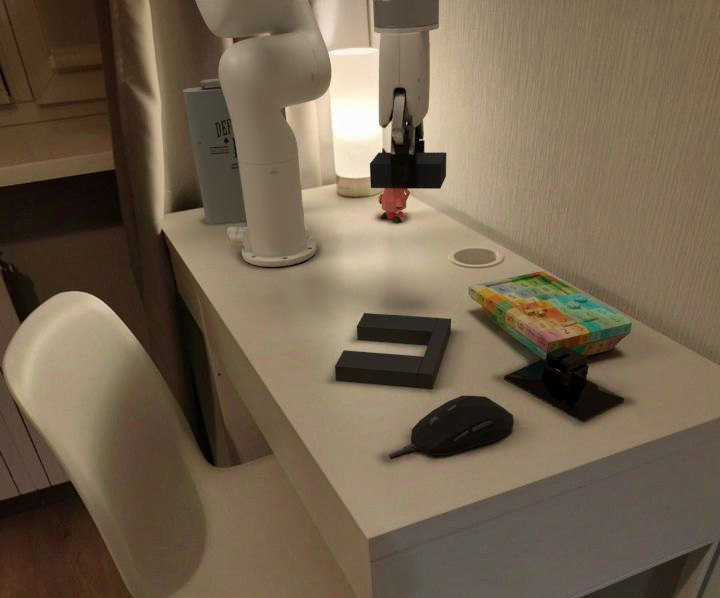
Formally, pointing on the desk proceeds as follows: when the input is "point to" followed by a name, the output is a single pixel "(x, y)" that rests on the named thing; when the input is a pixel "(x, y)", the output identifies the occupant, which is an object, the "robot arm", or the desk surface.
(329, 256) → the desk surface
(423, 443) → the gaming mouse
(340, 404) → the desk surface
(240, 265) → the desk surface
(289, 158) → the robot arm
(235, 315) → the desk surface
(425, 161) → the slate block
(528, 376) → the build plate
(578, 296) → the puzzle game
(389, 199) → the cat figurine
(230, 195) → the flask
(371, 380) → the charcoal u-shaped block
